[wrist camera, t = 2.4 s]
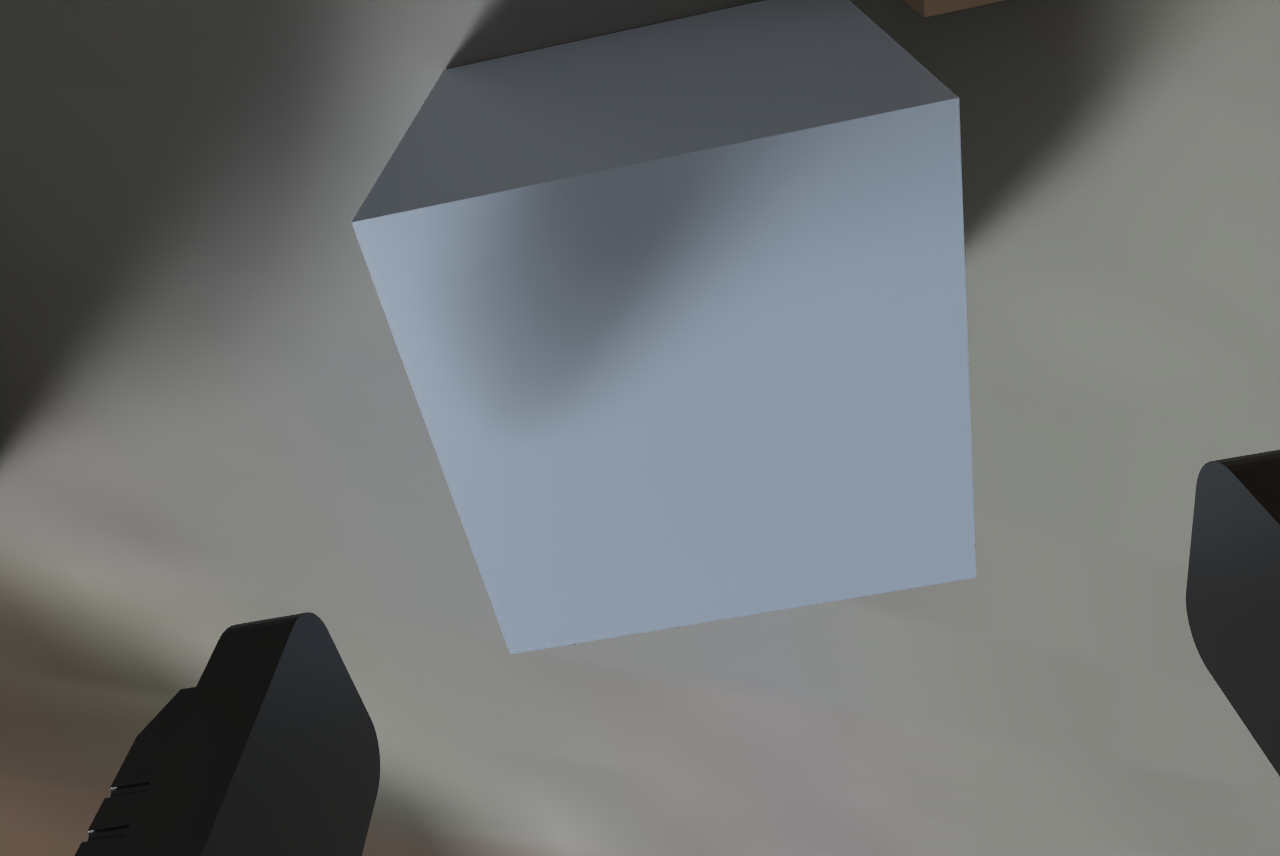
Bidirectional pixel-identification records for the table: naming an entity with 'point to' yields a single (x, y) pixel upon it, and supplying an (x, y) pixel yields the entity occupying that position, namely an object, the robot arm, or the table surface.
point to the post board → (944, 5)
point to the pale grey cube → (688, 319)
